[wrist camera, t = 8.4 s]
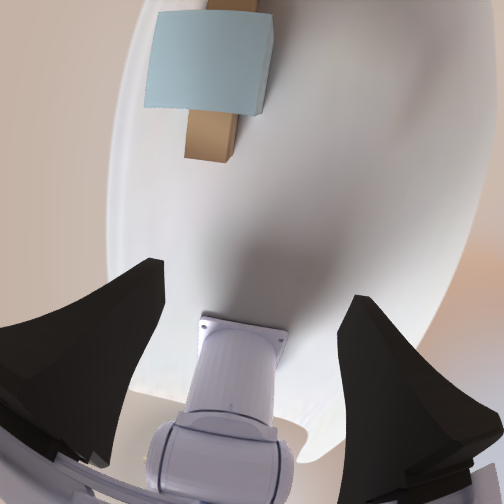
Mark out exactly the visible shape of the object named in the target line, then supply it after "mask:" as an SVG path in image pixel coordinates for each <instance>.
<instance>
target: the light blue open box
mask: <svg viewBox="0 0 504 504" xmlns="http://www.w3.org/2000/svg"><path fill="white" fill-rule="evenodd" d="M273 45H274V31H273V19H272V14H266V13H257V12H246V11H231V10H182V11H167V12H158V17H157V21H156V26H155V31H154V37H153V42H152V48H151V54H150V60H149V67H148V74H147V82H146V91H145V100H144V108H177V109H193V110H205V111H216V112H225V113H234V114H241V115H249V116H256V115H259V114H261V113H262V108H263V102H264V96H265V91H266V85H267V79H268V73H269V67H270V62H271V56H272V50H273Z"/></svg>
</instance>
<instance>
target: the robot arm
mask: <svg viewBox="0 0 504 504" xmlns="http://www.w3.org/2000/svg"><path fill="white" fill-rule="evenodd" d="M164 305H165V283H164V261H163V260H158V259H153V258H147V259H146V260H144V261H142V262H141V263H139V264H138V265H136V266H134V267H133V268H131V269H130V270H128V271H127V272H125V273H124V274H122V275H120V276H119V277H117V278H116V279H114V280H113V281H111V282H109V283H108V284H106V285H104V286H103V287H101V288H99V289H97V290H96V291H94V292H92V293H91V294H89V295H87V296H85V297H83V298H82V299H80V300H78V301H76V302H74V303H72V304H70V305H67V306H65V307H63V308H61V309H59V310H56V311H53V312H51V313H48V314H46V315H43V316H41V317H38V318H35V319H32V320H29V321H26V322H22V323H19V324H15V325H11V326H7V327H3V328H0V498H1V499H2V500H3V501H4V502H5V503H6V504H109V503H107V502H105V501H102V500H100V499H97V498H96V497H95V495H94V492H93V490H92V489H94V490H96V491H98V492H100V493H103V494H105V495H107V496H110V497H112V498H115V499H117V500H120V501H122V502H125V503H128V504H284V503H285V502H286V500H287V498H288V496H289V493H290V490H291V486H292V481H293V473H294V459H293V453H292V450H291V448H290V447H289V446H288V445H287V443H286V442H285V440H282V439H277V428H275V427H272V423H273V406H274V387H275V370H276V367H277V365H278V362H279V359H280V357H281V354H282V352H283V349H284V346H285V343H286V341H287V338H288V333H287V332H286V331H284V330H278V329H271V328H265V327H259V326H253V325H247V324H242V323H236V322H231V321H225V320H220V319H215V318H210V317H204V316H203V317H201V318H200V320H199V334H198V362H197V365H196V369H195V372H194V376H193V379H192V383H191V387H190V390H189V394H188V397H187V401H186V405H185V408H184V412H181V411H179V412H178V416H177V419H176V422H175V421H171V420H168V421H166V422H165V423H164V424H162V425H160V426H159V427H158V428H157V430H156V432H155V434H154V436H153V438H152V441H151V444H150V447H149V451H148V456H147V461H146V480H147V490H145V489H142V488H139V487H136V486H133V485H130V484H127V483H125V482H122V481H119V480H117V479H114V478H112V477H109V476H107V475H105V474H102V473H100V472H98V471H95V470H93V469H91V468H89V467H87V466H85V465H83V464H81V463H79V462H78V461H79V460H80V461H82V462H83V463H86V464H88V463H89V464H92V465H94V466H96V467H98V468H105V467H108V466H109V465H110V458H111V452H112V447H113V442H114V437H115V432H116V428H117V424H118V420H119V416H120V412H121V409H122V405H123V402H124V399H125V395H126V392H127V389H128V386H129V383H130V381H131V378H132V375H133V373H134V371H135V368H136V366H137V364H138V362H139V360H140V358H141V356H142V354H143V352H144V350H145V348H146V346H147V344H148V342H149V340H150V338H151V336H152V334H153V332H154V330H155V328H156V326H157V324H158V322H159V319H160V316H161V314H162V311H163V308H164ZM204 325H206V326H204ZM337 345H338V359H339V365H340V372H341V378H342V384H343V391H344V398H345V406H346V447H345V460H344V469H343V476H342V482H341V488H340V493H339V498H338V502H337V504H502V500H501V493H500V487H499V482H498V477H497V472H496V468H495V464H494V463H491V464H489V465H487V466H485V467H483V468H481V469H479V470H477V471H475V472H473V473H471V474H470V470H469V468H471V467H473V465H474V461H473V457H475V456H476V455H478V454H479V453H481V452H482V451H484V450H485V449H487V448H488V447H490V446H491V445H492V444H494V443H495V442H496V441H497V440H498V439H499V438H501V436H502V435H503V433H504V428H503V425H502V422H501V419H500V417H499V415H498V413H497V412H495V411H493V410H491V409H489V408H488V407H486V406H484V405H482V404H480V403H479V402H477V401H475V400H474V399H472V398H471V397H469V396H468V395H466V394H465V393H464V392H462V391H461V390H459V389H458V388H456V387H455V386H454V385H453V384H452V383H450V382H449V381H448V380H447V379H445V378H444V377H443V376H442V375H441V374H440V373H438V372H437V371H436V370H435V369H434V368H433V367H432V366H431V365H430V364H429V363H428V362H427V361H426V360H425V359H424V358H423V357H422V356H421V355H420V354H419V353H418V352H417V351H416V350H415V349H414V347H413V346H412V345H411V344H410V343H409V342H408V341H407V340H406V339H405V337H404V336H403V335H402V334H401V333H400V332H399V330H398V329H397V328H396V327H395V326H394V324H393V323H392V322H391V321H390V320H389V318H388V317H387V316H386V315H385V314H384V312H383V311H382V310H381V309H380V308H379V307H378V305H377V304H376V303H375V302H374V301H373V300H372V299H371V298H370V297H368V296H361V295H355V296H354V298H353V300H352V303H351V305H350V307H349V309H348V311H347V313H346V315H345V317H344V319H343V321H342V324H341V326H340V328H339V330H338V332H337Z"/></svg>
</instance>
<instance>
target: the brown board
mask: <svg viewBox="0 0 504 504" xmlns="http://www.w3.org/2000/svg"><path fill="white" fill-rule="evenodd" d="M258 2H259V0H208V3H207V8H206V10H231V11H246V12H257V7H258ZM238 115H239V114H234V113H225V112H216V111H205V110H193V109H189V116H188V125H187V134H186V144H185V155H184V158H190V159H198V160H206V161H213V162H220V163H226V162H227V161H228V160H229V158H230V157H231V156H232V155H233V148H234V141H235V135H236V128H237V121H238Z"/></svg>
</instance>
